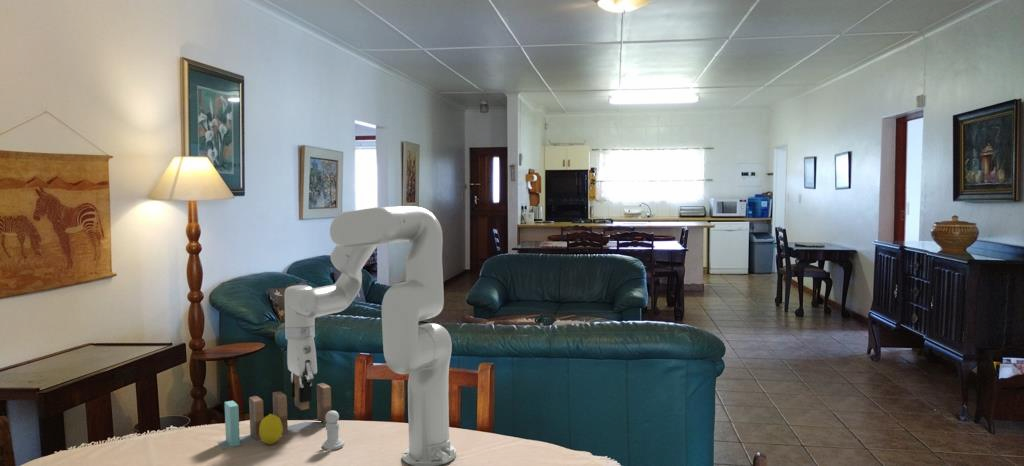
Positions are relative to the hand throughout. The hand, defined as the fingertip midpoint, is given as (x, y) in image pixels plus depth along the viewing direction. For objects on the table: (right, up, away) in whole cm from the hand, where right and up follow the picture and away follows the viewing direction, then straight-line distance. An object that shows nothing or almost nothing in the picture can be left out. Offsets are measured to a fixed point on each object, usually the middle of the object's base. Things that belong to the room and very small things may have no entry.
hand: (301, 398), depth 172 cm
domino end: (-14, -8, -11) cm, 20 cm away
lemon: (-4, -9, -12) cm, 15 cm away
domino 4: (+5, -7, +4) cm, 10 cm away
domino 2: (-4, -8, -3) cm, 10 cm away
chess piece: (+12, -9, -13) cm, 20 cm away
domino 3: (0, -2, 0) cm, 2 cm away
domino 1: (-9, -8, -7) cm, 14 cm away
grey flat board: (-5, -8, -4) cm, 11 cm away
